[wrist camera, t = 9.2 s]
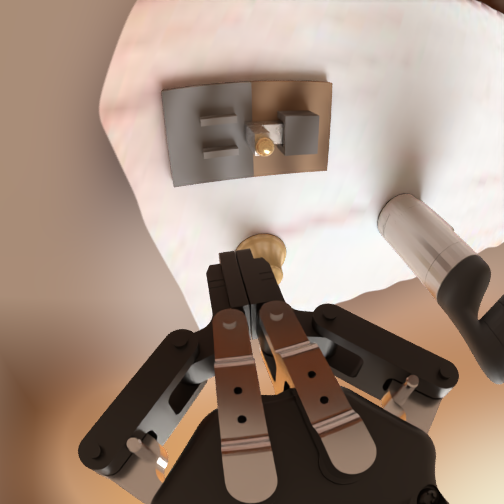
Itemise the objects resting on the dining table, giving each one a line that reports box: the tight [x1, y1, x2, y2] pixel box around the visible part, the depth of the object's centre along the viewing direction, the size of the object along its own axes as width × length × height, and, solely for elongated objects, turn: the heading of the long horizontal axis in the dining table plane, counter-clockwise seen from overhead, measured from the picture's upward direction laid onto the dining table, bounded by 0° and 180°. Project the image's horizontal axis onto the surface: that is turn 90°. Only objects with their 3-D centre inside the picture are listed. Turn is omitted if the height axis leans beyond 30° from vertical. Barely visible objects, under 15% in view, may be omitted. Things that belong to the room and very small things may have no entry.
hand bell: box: [236, 234, 286, 284], centre depth 41 cm, size 8×8×16 cm
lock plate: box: [161, 81, 332, 187], centre depth 33 cm, size 20×12×5 cm, turn 91°
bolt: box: [245, 120, 284, 156], centre depth 31 cm, size 8×2×7 cm, turn 91°
